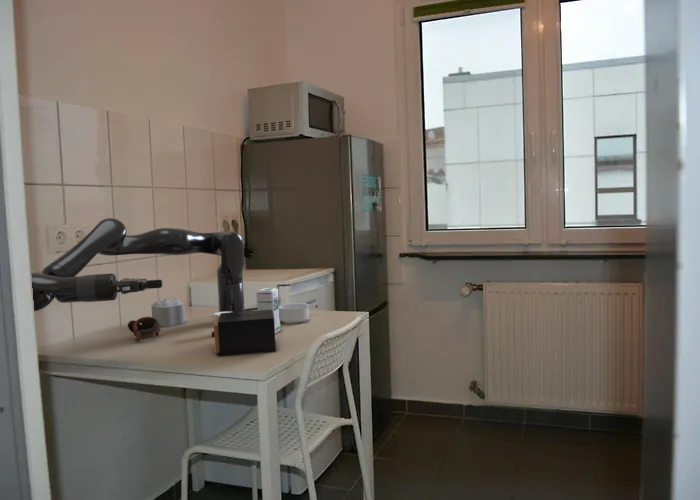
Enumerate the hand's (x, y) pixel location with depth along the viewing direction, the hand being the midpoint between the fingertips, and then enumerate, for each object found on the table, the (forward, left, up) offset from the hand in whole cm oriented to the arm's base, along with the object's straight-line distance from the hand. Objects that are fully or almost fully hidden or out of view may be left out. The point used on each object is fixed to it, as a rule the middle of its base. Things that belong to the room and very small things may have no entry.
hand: (161, 283), depth 157 cm
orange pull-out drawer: (-3, +21, -20) cm, 29 cm away
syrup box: (-22, +30, -22) cm, 43 cm away
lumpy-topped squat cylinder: (-51, -7, -22) cm, 56 cm away
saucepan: (-40, +42, -22) cm, 62 cm away
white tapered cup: (-25, +15, -22) cm, 37 cm away
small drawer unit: (-3, +23, -21) cm, 32 cm away
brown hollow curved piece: (-27, -11, -22) cm, 36 cm away
